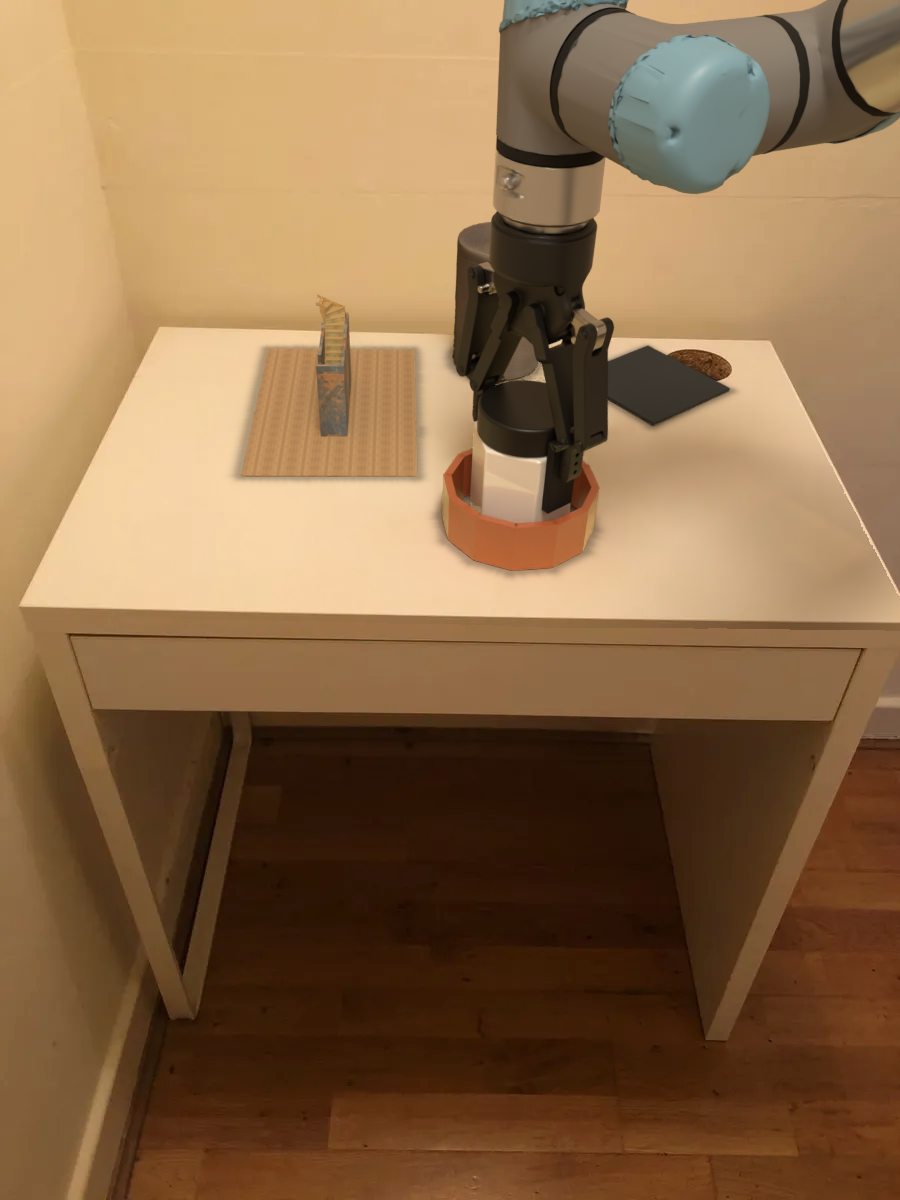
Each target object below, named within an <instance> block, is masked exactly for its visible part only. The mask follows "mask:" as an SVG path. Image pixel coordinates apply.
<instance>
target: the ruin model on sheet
mask: <svg viewBox="0 0 900 1200" xmlns="http://www.w3.org/2000/svg"><path fill="white" fill-rule="evenodd" d="M316 297H317V298H318V299H319V301H318V302H317V301H316V302H315V307H319V313H320V315H321V318H322V321H321V330H320V335H319V336H320V338H319V345H318V348H308V349H307V348H268V349H267V350H268V351H267V353H266V354H267V355H266V360H265V364H264V367H263V373H262V378H261V383H260V387H259V392H258V397H257V402H256V406H255V411H254V416H253V419H252V424H251V428H250V429H251V430H250V434H249V439H248V443H247V449H246V453H245V458H244V464H243V467H242V472H241V477H418V451H417V450H418V448H417V444H418V443H417V408H416V407H417V406H416V405H417V404H416V402H417V401H416V399H417V398H416V365H415V364H416V363H415V361H416V360H415V359H416V357H415V356H416V355H415V349H351V337H350V315H349V312H348V311H347V312H346V305H343V304H341V303H337V302H335V301H333V300H330V299H328V298H326V297H324V296H322V295H320V294H316Z"/></svg>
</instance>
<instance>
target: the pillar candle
mask: <svg viewBox="0 0 900 1200" xmlns="http://www.w3.org/2000/svg"><path fill="white" fill-rule="evenodd" d="M490 234H491V221H485V222H478V223H475V224H472V225H469V226H467V227H465V228H463V229H462V230H461V231H460V232H459V234H458V235H457V241H456V245H457V246H456V247H457V248H456V264H455V265H456V267H455V270H456V271H455V292H454V305H455V307H454V323H453V351H452V356H451V357H452V359H453V364H454V366H456V365H457V359H458V353H459V347H460V342H461V336H462V330H463V325H464V319H465V313H466V307H467V302H468V296H469V292H468V277H467V270H468V268H469V267H472V266H475V265H478V264H482V263H485V262H488V261H489V253H490ZM473 357H475V354H474V355H473V356H472V358H473ZM538 363H539V362H538V361H537V360H536V358H535V354H534V349H533V345H532V344H531V343H530V342H529V341H528V340H527V339H526V338H525V337H522V338H521V340H520V342H519V344H518V347H517V349H516V351H515V353H514V355H513V357H512V359H511V361H510V363H509V365H508V367H507V369H506V371H505V373H504V375H503V376H504V377H505V378H502V380H504V379H506V381H507V380H508V381H512V380H514V379H520V378H523V377H526V376H528V375H529V374H532V372H533V371H535V369H536V367H537V366H538Z"/></svg>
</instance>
